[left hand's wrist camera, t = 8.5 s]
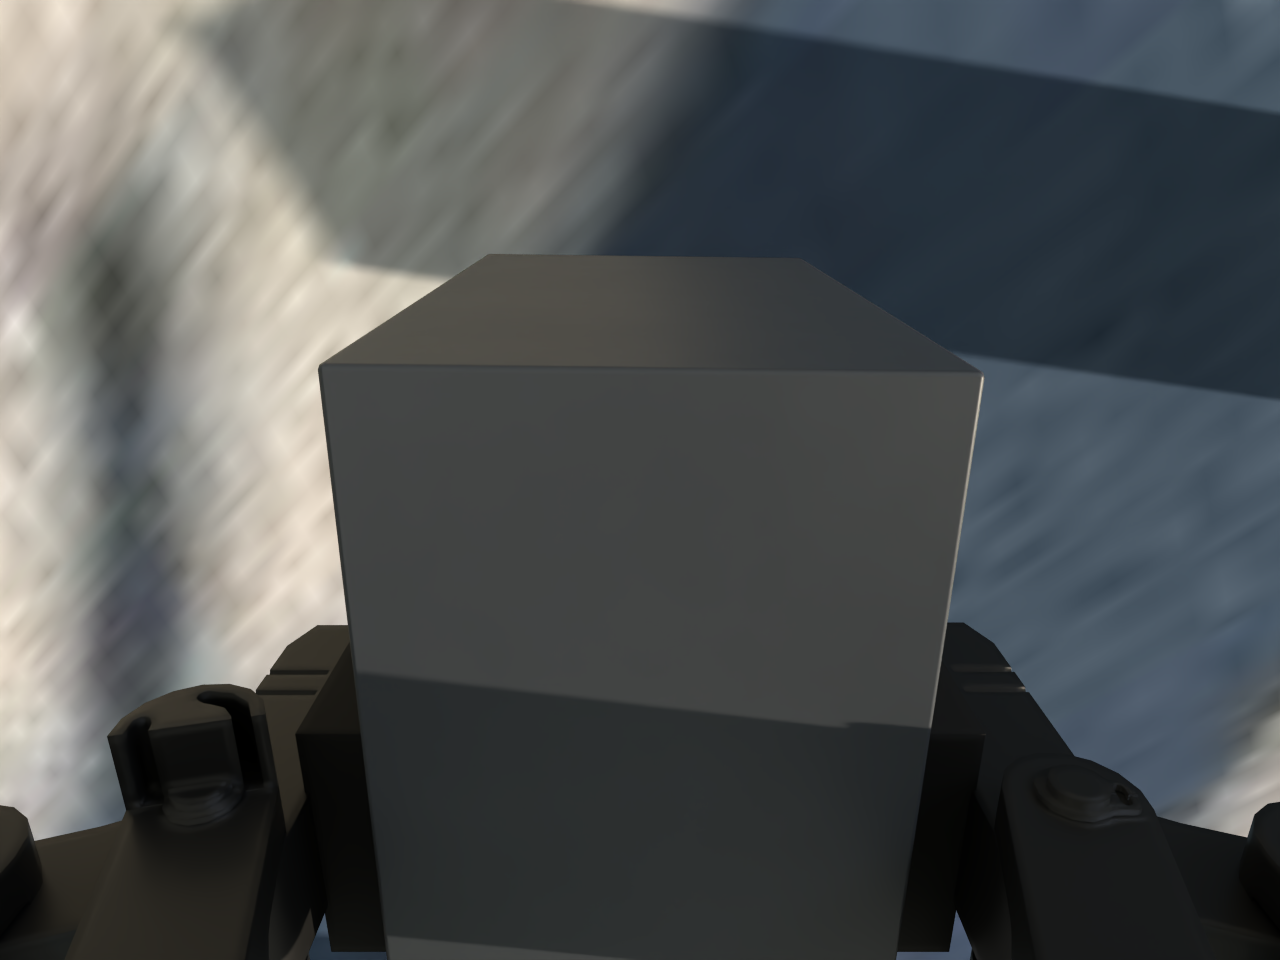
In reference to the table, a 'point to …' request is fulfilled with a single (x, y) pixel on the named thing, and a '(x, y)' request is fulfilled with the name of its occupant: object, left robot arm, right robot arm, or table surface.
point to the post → (646, 605)
